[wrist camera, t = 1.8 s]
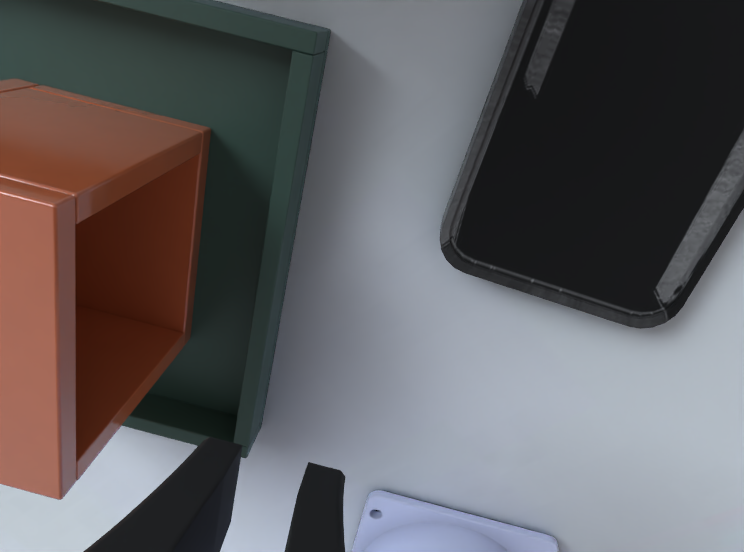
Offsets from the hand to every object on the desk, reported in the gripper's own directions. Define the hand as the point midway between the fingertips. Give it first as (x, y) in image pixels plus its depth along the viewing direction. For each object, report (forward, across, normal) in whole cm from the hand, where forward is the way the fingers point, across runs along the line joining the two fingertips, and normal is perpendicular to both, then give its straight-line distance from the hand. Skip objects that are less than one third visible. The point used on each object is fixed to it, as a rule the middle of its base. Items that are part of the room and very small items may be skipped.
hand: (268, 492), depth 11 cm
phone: (+10, -7, -8) cm, 15 cm away
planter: (+10, +9, 0) cm, 13 cm away
